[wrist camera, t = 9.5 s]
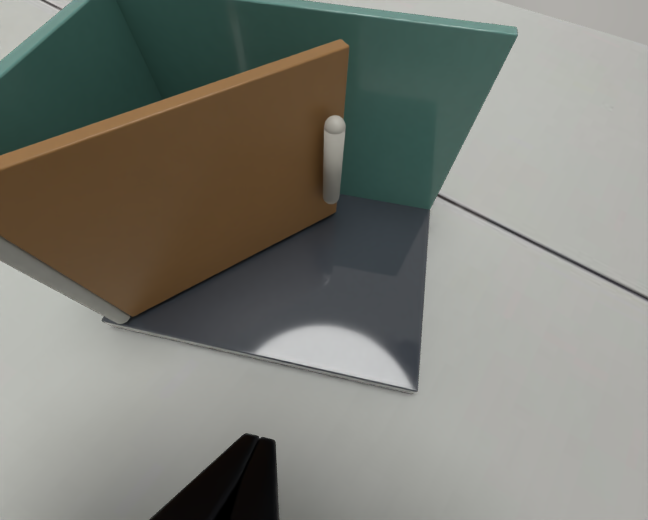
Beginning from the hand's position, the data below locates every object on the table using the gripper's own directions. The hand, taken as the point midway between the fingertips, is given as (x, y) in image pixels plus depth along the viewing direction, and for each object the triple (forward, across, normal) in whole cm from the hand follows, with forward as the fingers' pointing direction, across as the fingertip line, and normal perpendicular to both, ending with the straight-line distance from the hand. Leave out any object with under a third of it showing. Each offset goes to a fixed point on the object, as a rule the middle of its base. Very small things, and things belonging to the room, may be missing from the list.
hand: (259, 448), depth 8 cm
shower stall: (+12, +2, -1) cm, 13 cm away
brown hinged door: (+10, +5, -1) cm, 12 cm away
